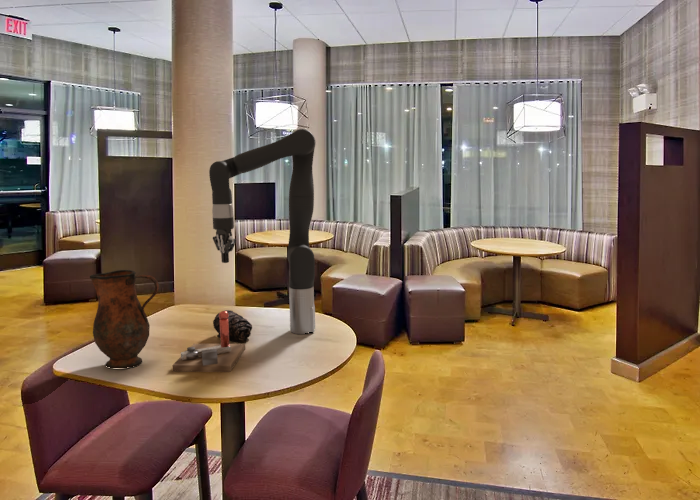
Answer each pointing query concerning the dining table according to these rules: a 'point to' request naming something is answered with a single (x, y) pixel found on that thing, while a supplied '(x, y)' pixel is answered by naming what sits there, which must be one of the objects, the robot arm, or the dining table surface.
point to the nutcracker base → (222, 360)
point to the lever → (220, 349)
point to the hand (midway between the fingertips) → (225, 262)
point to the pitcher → (120, 317)
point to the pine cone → (235, 327)
